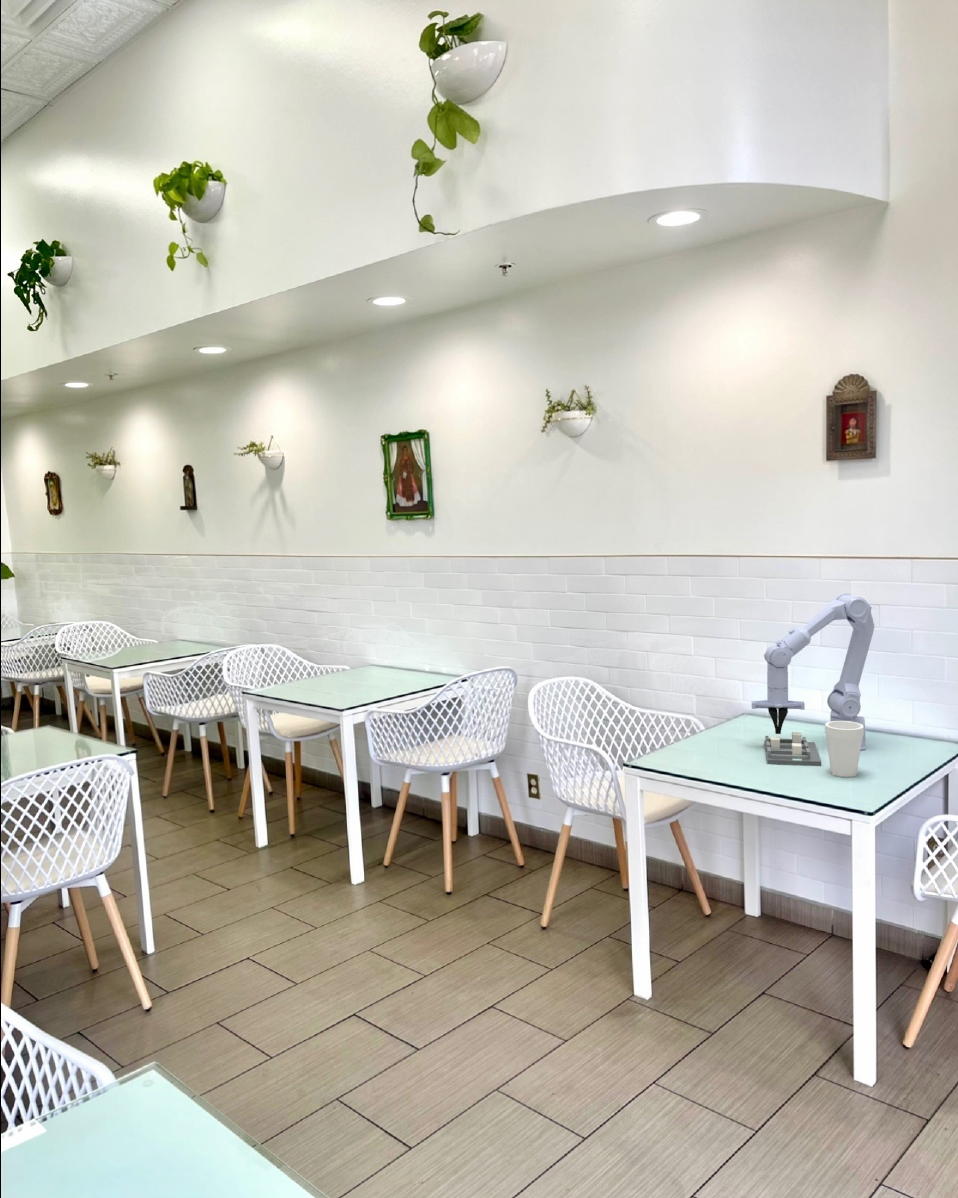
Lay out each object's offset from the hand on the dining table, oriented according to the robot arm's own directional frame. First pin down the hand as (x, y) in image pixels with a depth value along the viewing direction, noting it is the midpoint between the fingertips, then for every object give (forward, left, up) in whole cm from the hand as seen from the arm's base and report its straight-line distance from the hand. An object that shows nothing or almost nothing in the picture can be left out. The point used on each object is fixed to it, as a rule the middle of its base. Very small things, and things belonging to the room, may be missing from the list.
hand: (778, 733), depth 274 cm
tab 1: (+1, +6, -3) cm, 7 cm away
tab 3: (-4, +12, -3) cm, 13 cm away
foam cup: (-15, +22, -5) cm, 27 cm away
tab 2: (-5, 0, -3) cm, 6 cm away
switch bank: (-3, +6, -5) cm, 8 cm away
